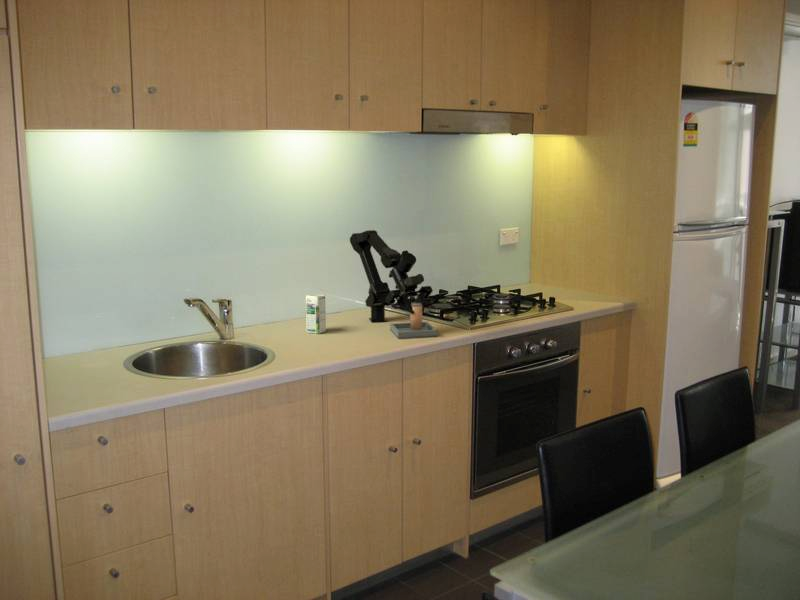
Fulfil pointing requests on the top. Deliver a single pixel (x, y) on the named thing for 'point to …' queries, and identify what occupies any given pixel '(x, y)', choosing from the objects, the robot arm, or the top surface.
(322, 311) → the syrup box
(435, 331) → the tray
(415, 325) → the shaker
